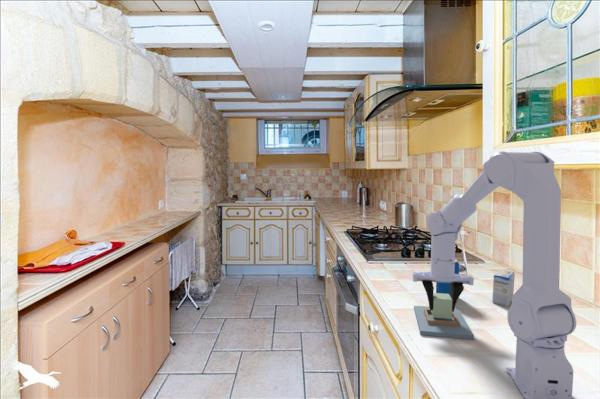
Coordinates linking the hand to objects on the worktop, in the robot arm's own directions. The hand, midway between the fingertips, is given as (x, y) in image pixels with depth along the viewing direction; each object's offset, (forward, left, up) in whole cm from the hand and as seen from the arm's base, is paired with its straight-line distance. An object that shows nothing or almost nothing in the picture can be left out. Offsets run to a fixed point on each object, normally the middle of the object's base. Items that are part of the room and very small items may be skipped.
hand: (441, 309), depth 90 cm
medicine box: (+20, -21, -4) cm, 29 cm away
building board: (0, 0, -4) cm, 4 cm away
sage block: (0, 0, -2) cm, 2 cm away
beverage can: (+20, -5, -4) cm, 21 cm away
